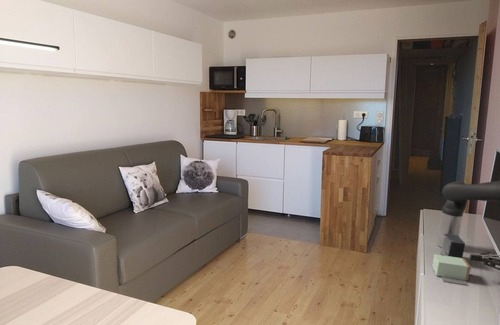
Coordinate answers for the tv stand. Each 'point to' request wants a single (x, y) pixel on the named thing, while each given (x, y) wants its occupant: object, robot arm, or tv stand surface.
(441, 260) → the sage block
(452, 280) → the mat
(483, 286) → the tv stand surface
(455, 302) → the tv stand surface
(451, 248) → the small box
